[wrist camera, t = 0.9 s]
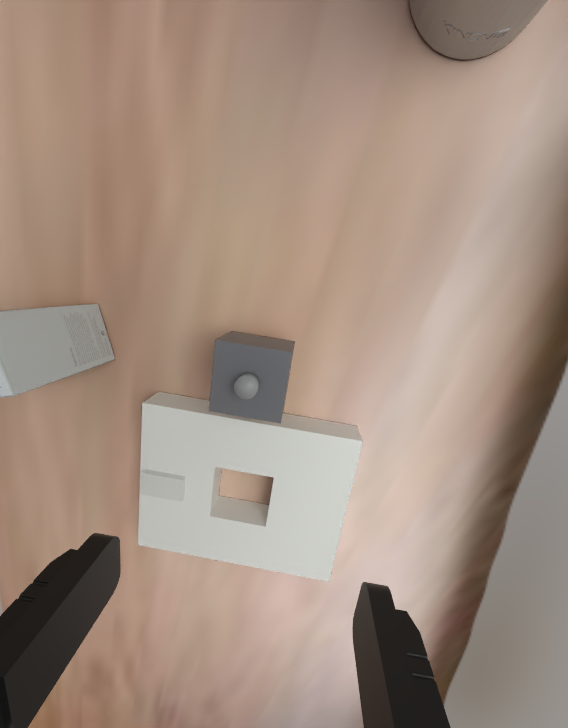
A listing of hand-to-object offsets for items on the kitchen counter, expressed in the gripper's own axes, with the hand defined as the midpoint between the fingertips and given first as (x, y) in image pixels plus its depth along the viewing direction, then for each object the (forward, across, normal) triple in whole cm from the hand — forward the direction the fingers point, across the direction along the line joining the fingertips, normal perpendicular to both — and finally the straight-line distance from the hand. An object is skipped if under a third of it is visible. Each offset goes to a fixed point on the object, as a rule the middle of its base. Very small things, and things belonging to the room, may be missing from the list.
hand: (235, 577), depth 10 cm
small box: (+20, +21, -2) cm, 29 cm away
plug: (+20, +2, -2) cm, 20 cm away
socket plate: (+19, +3, +11) cm, 22 cm away
